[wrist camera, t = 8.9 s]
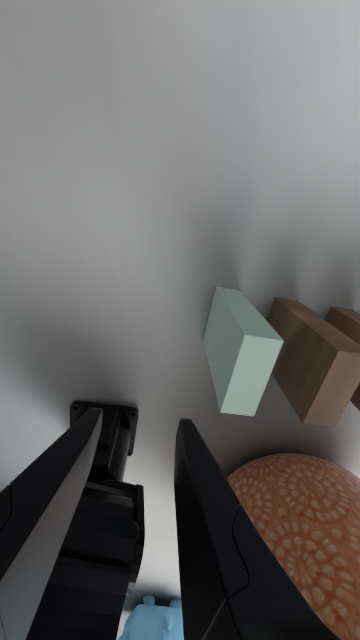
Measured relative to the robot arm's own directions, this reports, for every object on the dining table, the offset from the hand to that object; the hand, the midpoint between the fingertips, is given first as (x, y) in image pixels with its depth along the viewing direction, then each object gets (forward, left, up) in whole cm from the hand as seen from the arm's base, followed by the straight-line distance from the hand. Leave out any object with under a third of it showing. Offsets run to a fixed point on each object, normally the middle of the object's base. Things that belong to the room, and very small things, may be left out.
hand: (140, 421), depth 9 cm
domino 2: (0, -10, -12) cm, 16 cm away
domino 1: (0, -5, -12) cm, 13 cm away
